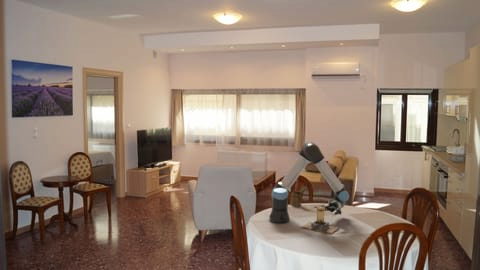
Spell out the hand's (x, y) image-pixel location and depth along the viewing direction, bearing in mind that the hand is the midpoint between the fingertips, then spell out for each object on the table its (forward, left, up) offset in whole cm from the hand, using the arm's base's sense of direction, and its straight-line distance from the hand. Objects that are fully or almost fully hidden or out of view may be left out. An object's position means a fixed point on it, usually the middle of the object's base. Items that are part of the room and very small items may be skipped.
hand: (323, 212), depth 280 cm
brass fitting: (-1, -5, -9) cm, 10 cm away
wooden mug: (-41, +45, -11) cm, 62 cm away
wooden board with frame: (0, -5, -10) cm, 11 cm away
